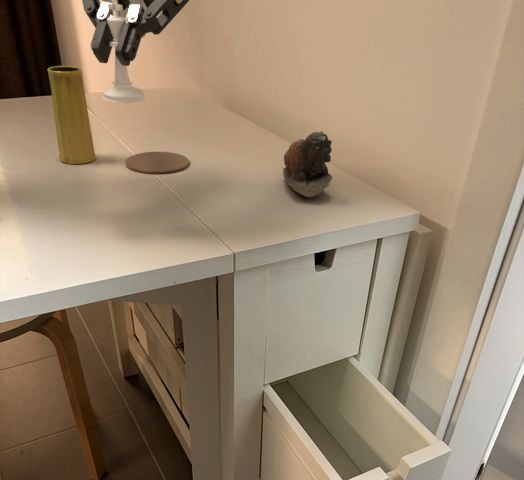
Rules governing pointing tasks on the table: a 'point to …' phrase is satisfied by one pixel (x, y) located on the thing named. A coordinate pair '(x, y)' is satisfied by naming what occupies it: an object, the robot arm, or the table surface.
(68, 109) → the vase
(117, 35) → the chess piece
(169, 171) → the coaster
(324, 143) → the bison figurine
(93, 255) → the table surface
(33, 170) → the table surface
